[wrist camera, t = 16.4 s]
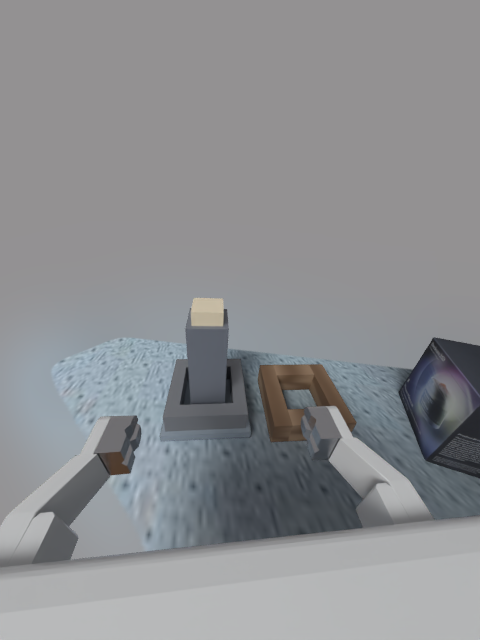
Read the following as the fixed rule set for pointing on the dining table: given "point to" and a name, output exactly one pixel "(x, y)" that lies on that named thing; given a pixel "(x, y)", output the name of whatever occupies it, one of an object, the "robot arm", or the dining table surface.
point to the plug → (207, 350)
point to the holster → (296, 377)
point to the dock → (205, 408)
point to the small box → (446, 405)
